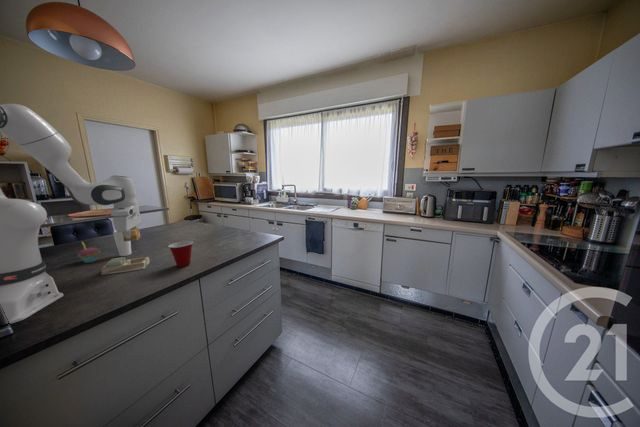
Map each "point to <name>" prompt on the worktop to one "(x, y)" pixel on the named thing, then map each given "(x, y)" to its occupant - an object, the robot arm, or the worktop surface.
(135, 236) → the ochre block
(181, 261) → the plastic cup
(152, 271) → the worktop surface
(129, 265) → the slot board
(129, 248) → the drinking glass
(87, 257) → the cupcake
